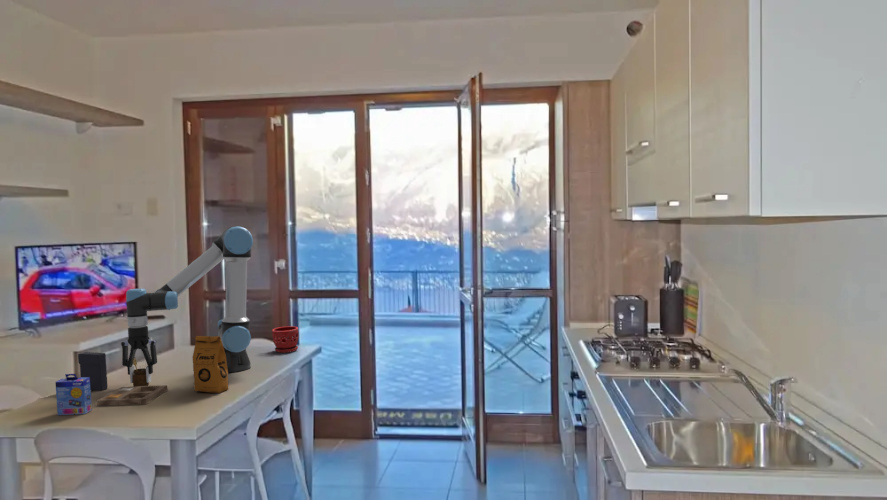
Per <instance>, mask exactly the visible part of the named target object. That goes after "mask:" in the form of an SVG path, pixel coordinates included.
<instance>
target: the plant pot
mask: <svg viewBox="0 0 887 500" xmlns="http://www.w3.org/2000/svg"><path fill="white" fill-rule="evenodd" d="M271 334H272V340H273V344H274V346H275V348H274V350H275V352H277V353H278V354H279V353H281V354H284V353H285V354H287V353H293V352H295V351H297V350H298V349H299V346H298V345H297V344H298V342H299V336H300V335H299V327H298V326H291V325H290V326H288V325H287V326H280V327H279V326H277V327H275V328H272V331H271Z"/></svg>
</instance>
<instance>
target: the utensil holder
mask: <svg viewBox="0 0 887 500" xmlns="http://www.w3.org/2000/svg"><path fill="white" fill-rule="evenodd" d="M142 362H145V360H144V359H143V360H142ZM137 365H138V361H137V359H136V357H134V360H133V366H134V368H135V370H134V371H133V373H134V375H133V383H132V387H134V386H150V385H149V384H150V382H149V383H147V379H146V367H147V366H143V367H140V368H137Z"/></svg>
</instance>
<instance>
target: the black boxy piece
mask: <svg viewBox="0 0 887 500" xmlns="http://www.w3.org/2000/svg"><path fill="white" fill-rule="evenodd" d="M106 356H107V355H106V352H94V351H93V352H91V351H89V352H88V351H86V352H80V353H78V355H77V362H78V364H79V370H80V371H79V373H80V378H82V377H89V378H90V389H91V391H97V392H102V391H105V390H107V389H108V385H109V384H108V373H107V372H108V370H107V368H108V367H107V357H106Z"/></svg>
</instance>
